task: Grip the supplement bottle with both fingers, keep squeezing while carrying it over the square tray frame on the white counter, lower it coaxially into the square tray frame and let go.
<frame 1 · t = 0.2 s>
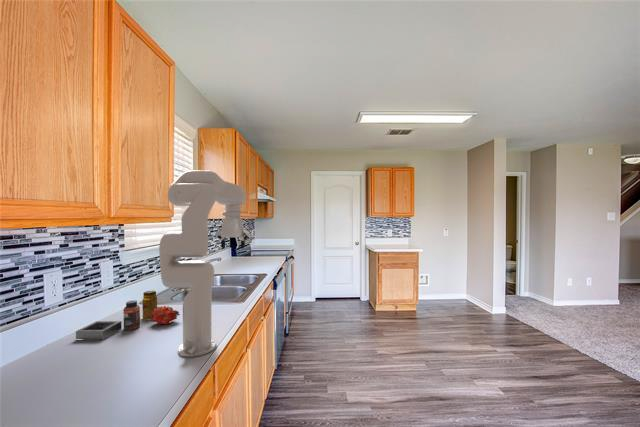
hand: (233, 248, 150), 31 cm above the counter, tool pointing down, fingers open, 9 cm apart
condiment: (151, 317, 139), on the counter
square tray frame: (99, 334, 118), on the counter
supplement bottle: (131, 328, 125), on the counter
dragon fruit: (164, 323, 130), on the counter
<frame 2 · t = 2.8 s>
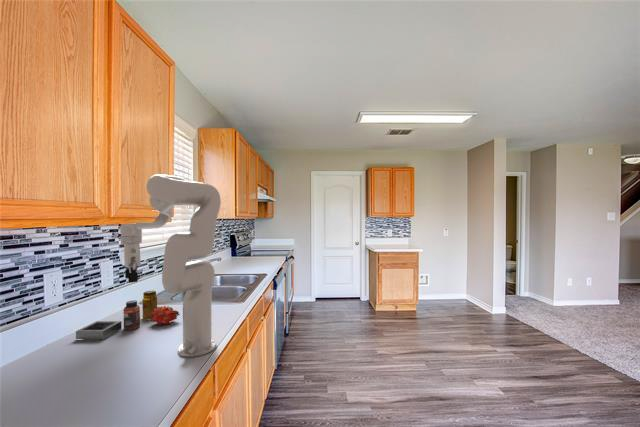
hand: (131, 279, 125), 20 cm above the counter, tool pointing down, fingers open, 9 cm apart
nothing on the counter moved.
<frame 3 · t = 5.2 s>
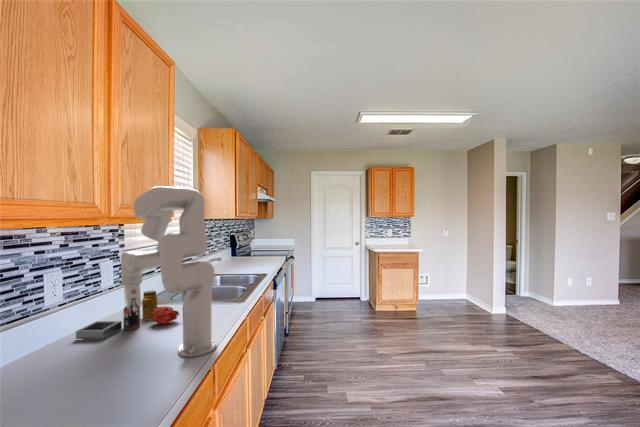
hand: (131, 321, 125), 3 cm above the counter, tool pointing down, fingers closed on supplement bottle, 6 cm apart
supplement bottle: (131, 328, 125), on the counter, touching gripper
everything else where it was.
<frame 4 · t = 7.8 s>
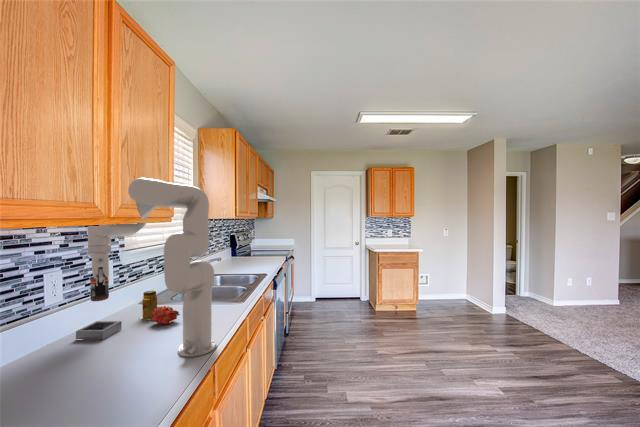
hand: (99, 293, 118), 17 cm above the counter, tool pointing down, fingers closed on supplement bottle, 6 cm apart
supplement bottle: (99, 300, 118), point 14 cm above the counter, touching gripper
everything else where it was.
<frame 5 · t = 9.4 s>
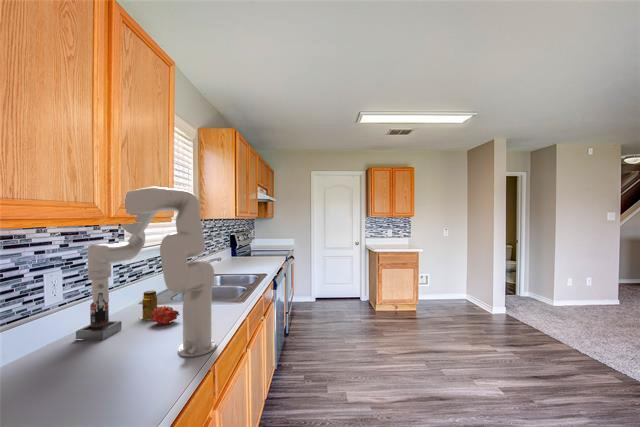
hand: (99, 318, 118), 7 cm above the counter, tool pointing down, fingers closed on supplement bottle, 6 cm apart
supplement bottle: (99, 325, 118), point 4 cm above the counter, touching gripper
everything else where it was.
when the fingers open (5 cm above the counter, at t = 10.7 s): supplement bottle drops 2 cm, resting in square tray frame.
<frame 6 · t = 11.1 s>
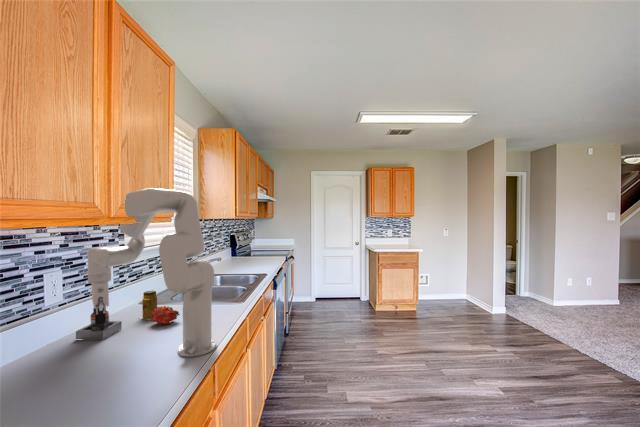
hand: (99, 320, 118), 6 cm above the counter, tool pointing down, fingers open, 9 cm apart
supplement bottle: (100, 335, 118), resting in square tray frame
everything else where it was.
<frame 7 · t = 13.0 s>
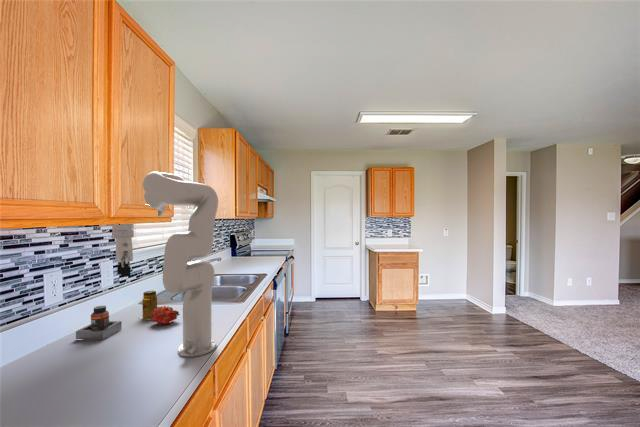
hand: (123, 275, 123), 23 cm above the counter, tool pointing down, fingers open, 9 cm apart
nothing on the counter moved.
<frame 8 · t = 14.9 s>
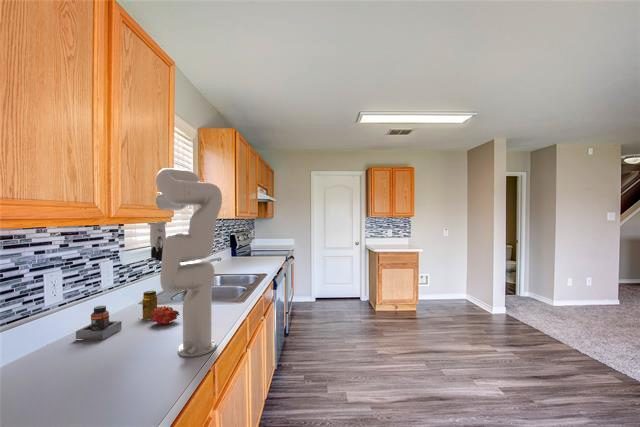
hand: (157, 258, 133), 28 cm above the counter, tool pointing down, fingers open, 9 cm apart
nothing on the counter moved.
at the end: supplement bottle 0.4 cm off-centre on the square tray frame, point 0.0 cm above the square tray frame's base; supplement bottle tilted 0°; the gripper is holding nothing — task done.
